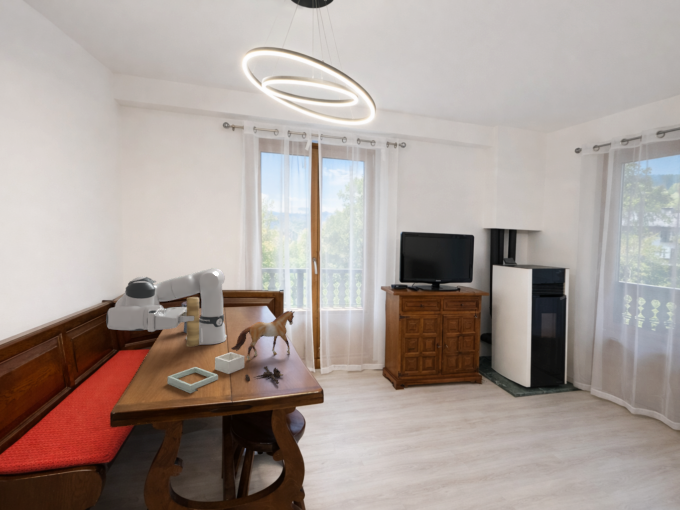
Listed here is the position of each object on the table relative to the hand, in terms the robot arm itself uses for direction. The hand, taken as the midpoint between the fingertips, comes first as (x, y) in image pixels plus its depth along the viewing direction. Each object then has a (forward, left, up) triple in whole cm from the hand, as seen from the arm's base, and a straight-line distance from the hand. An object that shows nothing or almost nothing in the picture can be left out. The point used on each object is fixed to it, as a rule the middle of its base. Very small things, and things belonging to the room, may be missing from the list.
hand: (195, 316), depth 128 cm
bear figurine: (+19, +18, -27) cm, 37 cm away
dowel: (-1, -1, -11) cm, 11 cm away
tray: (-1, 0, -26) cm, 26 cm away
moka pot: (-64, +43, -26) cm, 81 cm away
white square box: (+1, +16, -26) cm, 31 cm away
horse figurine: (-1, +38, -26) cm, 46 cm away
